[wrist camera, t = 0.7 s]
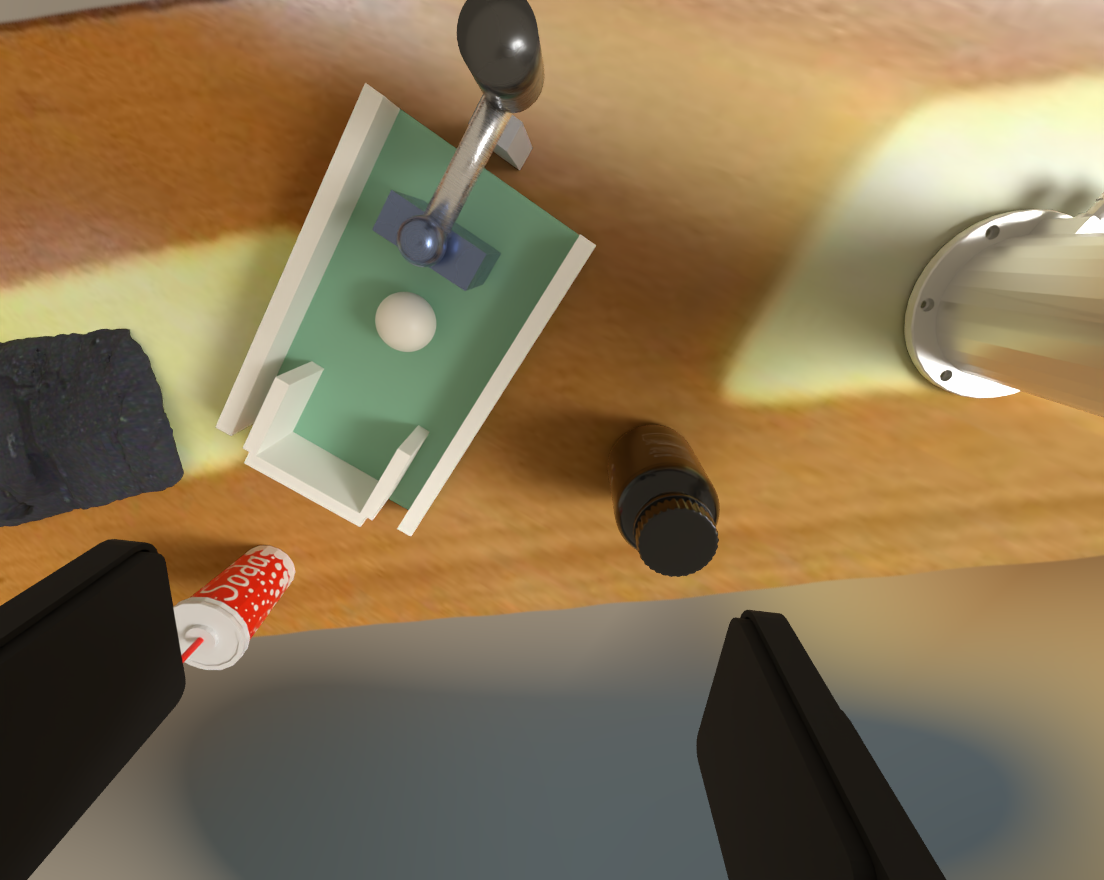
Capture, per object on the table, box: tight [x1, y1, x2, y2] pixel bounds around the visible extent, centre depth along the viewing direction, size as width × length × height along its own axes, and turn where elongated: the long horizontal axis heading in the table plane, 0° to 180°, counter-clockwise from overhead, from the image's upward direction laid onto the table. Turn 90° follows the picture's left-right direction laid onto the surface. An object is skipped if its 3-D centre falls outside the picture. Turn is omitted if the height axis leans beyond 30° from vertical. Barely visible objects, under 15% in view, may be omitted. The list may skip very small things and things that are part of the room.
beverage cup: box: [173, 546, 295, 670], centre depth 40 cm, size 6×6×14 cm
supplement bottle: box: [608, 425, 720, 577], centre depth 36 cm, size 7×7×12 cm
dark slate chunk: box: [0, 329, 184, 527], centre depth 41 cm, size 15×22×5 cm
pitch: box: [216, 83, 596, 536], centre depth 35 cm, size 28×16×7 cm, turn 147°
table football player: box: [372, 0, 544, 291], centre depth 28 cm, size 12×6×12 cm, turn 147°
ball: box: [375, 292, 436, 352], centre depth 35 cm, size 4×4×4 cm
